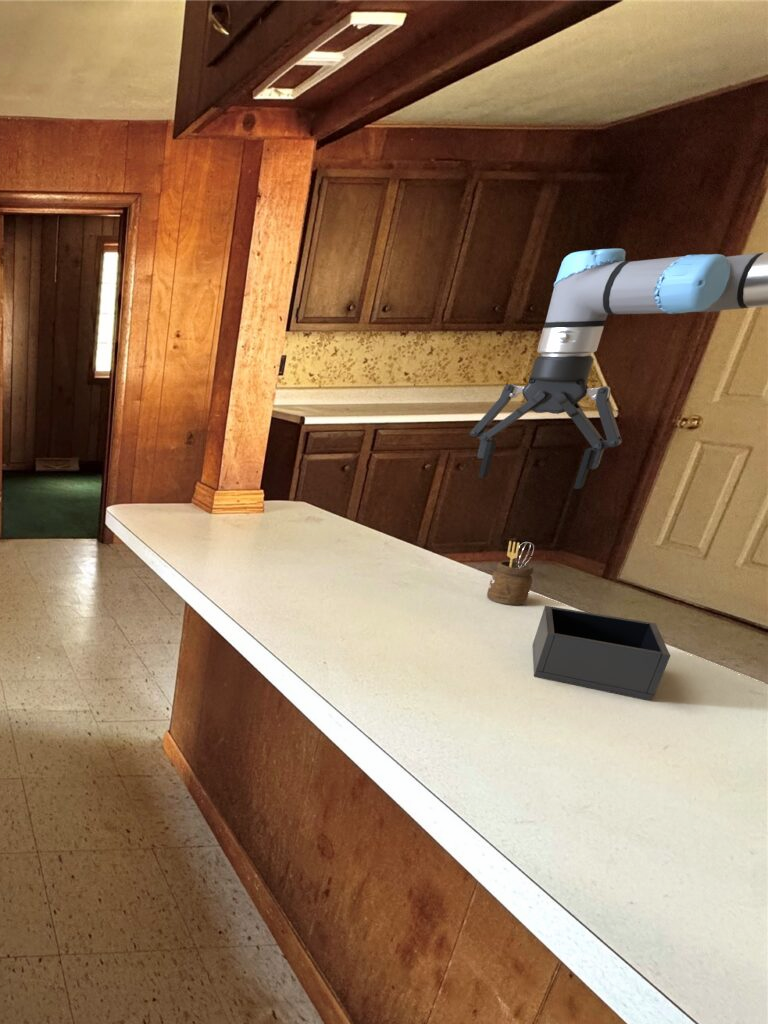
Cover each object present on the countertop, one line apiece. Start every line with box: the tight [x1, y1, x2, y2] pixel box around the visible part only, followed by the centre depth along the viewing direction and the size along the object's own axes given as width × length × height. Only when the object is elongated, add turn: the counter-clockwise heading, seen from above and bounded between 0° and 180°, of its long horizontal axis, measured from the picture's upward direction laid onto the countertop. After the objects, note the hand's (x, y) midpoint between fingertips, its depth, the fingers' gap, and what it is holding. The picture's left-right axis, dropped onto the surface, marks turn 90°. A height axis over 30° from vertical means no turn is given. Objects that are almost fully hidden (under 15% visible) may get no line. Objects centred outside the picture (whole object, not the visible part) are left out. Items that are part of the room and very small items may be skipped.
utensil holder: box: [486, 540, 535, 606], centre depth 121 cm, size 6×6×12 cm
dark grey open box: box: [532, 605, 671, 702], centre depth 97 cm, size 13×13×7 cm
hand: (528, 482), depth 117 cm, fingers open, 13 cm apart
